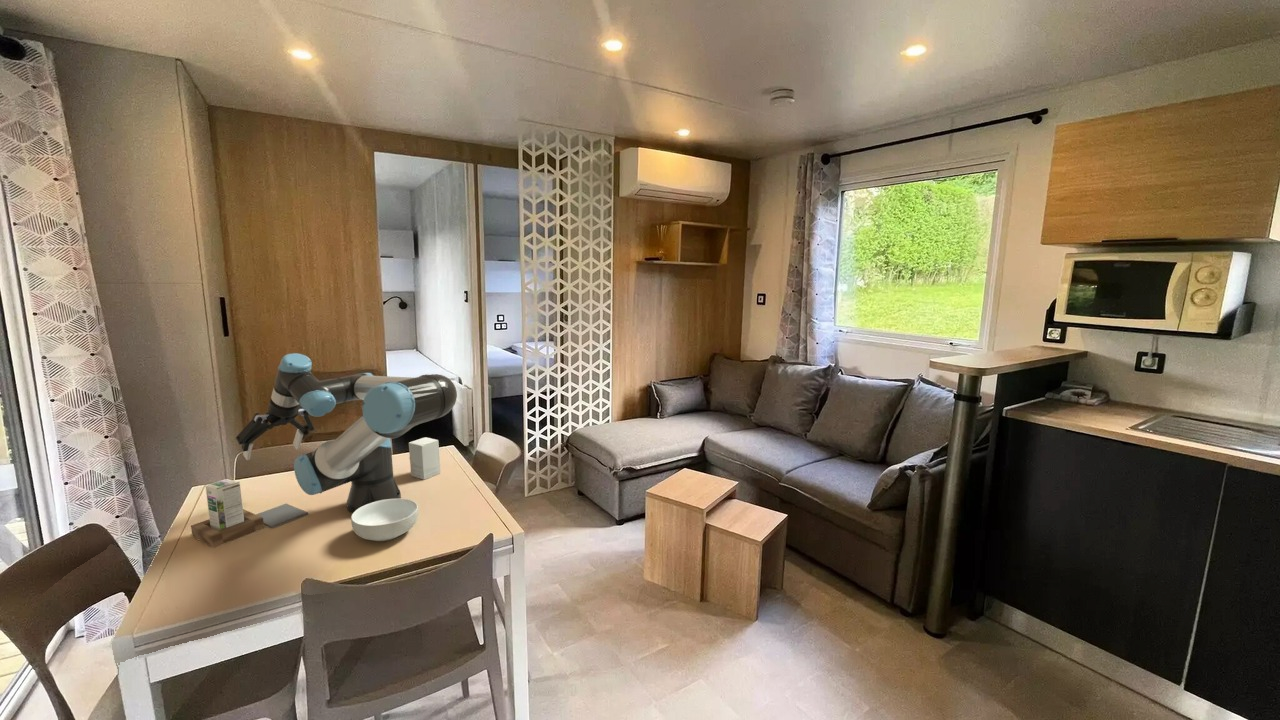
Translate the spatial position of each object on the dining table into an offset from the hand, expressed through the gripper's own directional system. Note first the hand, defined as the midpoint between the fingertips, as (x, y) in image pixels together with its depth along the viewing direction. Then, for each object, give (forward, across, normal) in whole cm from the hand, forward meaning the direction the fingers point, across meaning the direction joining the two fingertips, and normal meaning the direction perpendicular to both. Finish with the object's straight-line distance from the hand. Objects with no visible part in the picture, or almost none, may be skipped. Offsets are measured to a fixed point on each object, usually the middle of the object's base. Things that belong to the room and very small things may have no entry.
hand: (271, 451), depth 160 cm
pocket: (+9, +16, +18) cm, 26 cm away
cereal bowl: (-12, -8, +50) cm, 51 cm away
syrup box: (+9, +16, +18) cm, 26 cm away
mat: (+8, +4, +19) cm, 21 cm away
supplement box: (+2, -40, +24) cm, 47 cm away
